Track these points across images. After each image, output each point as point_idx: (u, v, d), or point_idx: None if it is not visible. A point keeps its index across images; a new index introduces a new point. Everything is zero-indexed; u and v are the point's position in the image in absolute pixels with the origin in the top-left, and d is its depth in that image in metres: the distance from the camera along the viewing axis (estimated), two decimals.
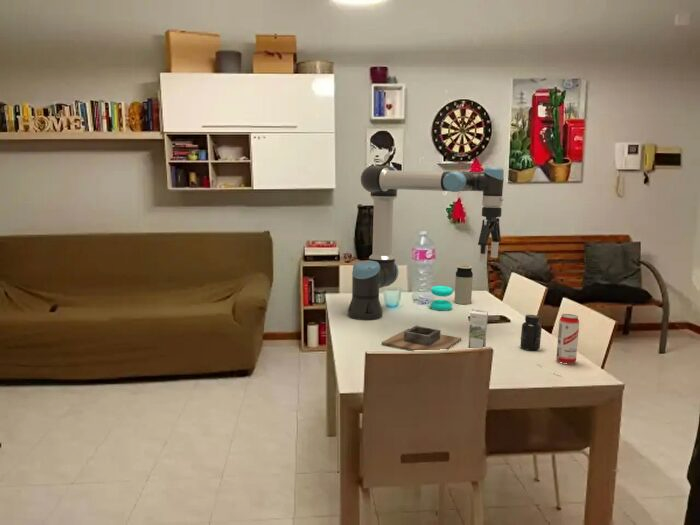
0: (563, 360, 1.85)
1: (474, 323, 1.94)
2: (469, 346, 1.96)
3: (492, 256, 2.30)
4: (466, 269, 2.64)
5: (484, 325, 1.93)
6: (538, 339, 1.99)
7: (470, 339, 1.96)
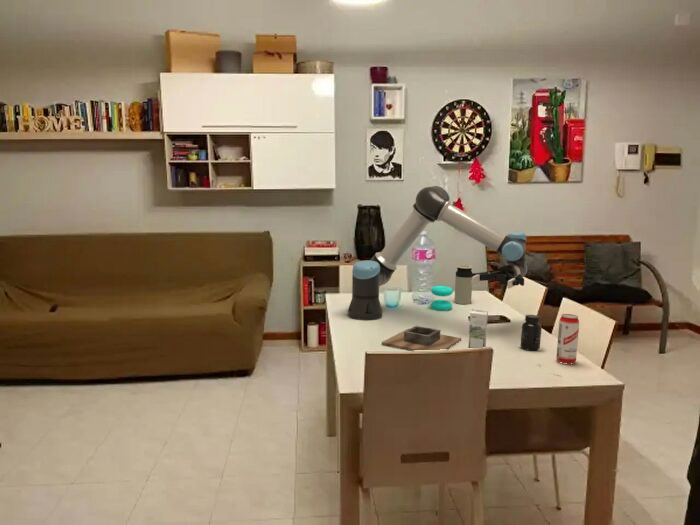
0: (563, 360, 1.85)
1: (474, 323, 1.94)
2: (469, 346, 1.96)
3: (474, 279, 2.08)
4: (466, 269, 2.64)
5: (484, 325, 1.93)
6: (538, 339, 1.99)
7: (470, 339, 1.96)
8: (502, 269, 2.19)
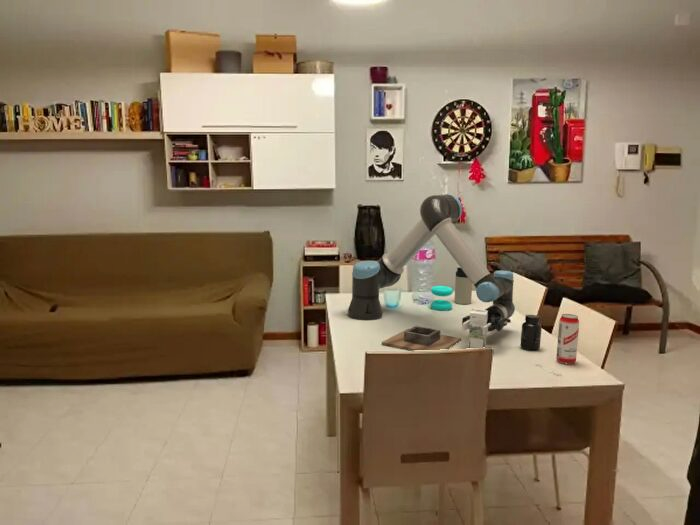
0: (563, 360, 1.85)
1: (474, 323, 1.94)
2: (469, 346, 1.96)
3: (464, 325, 1.95)
4: None
5: (484, 325, 1.93)
6: (538, 339, 1.99)
7: (470, 339, 1.96)
8: (488, 311, 2.09)
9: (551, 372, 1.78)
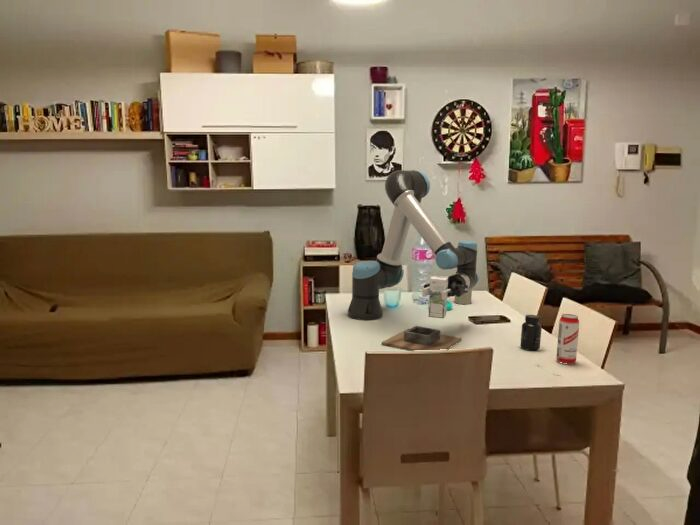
0: (563, 360, 1.85)
1: (434, 288, 1.98)
2: (429, 311, 2.00)
3: (425, 291, 1.98)
4: None
5: (443, 290, 1.97)
6: (538, 339, 1.99)
7: (430, 304, 1.99)
8: (450, 279, 2.12)
9: None
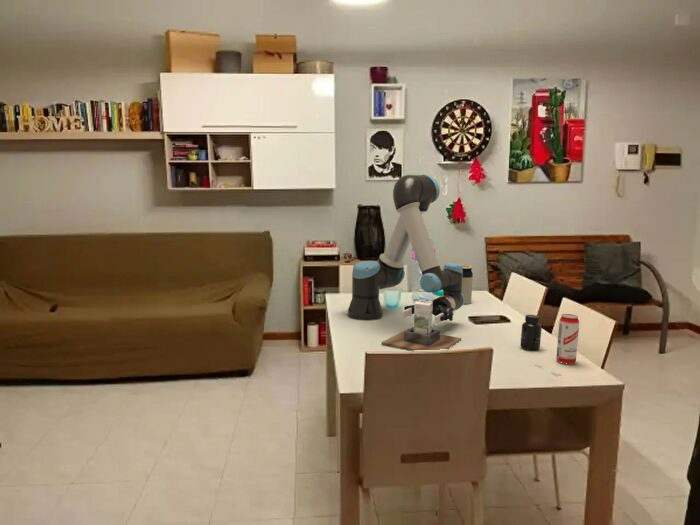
0: (563, 360, 1.85)
1: (418, 313, 2.02)
2: None
3: (404, 313, 2.05)
4: (466, 269, 2.64)
5: (427, 315, 2.01)
6: (538, 339, 1.99)
7: (415, 329, 2.04)
8: (436, 301, 2.17)
9: (551, 372, 1.77)
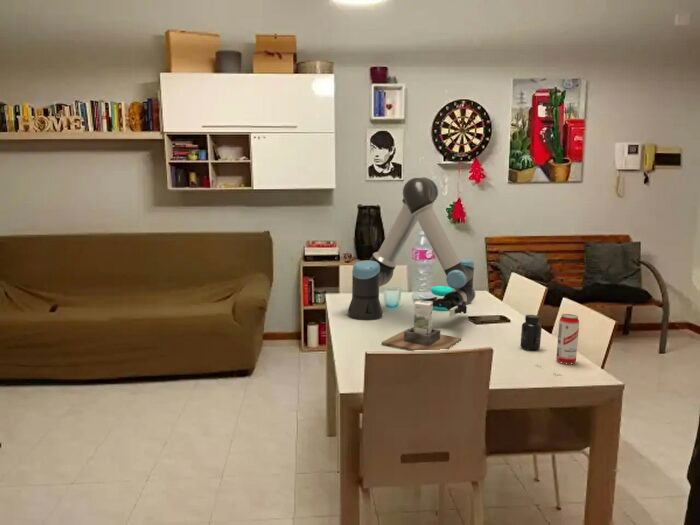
0: (563, 360, 1.85)
1: (418, 313, 2.02)
2: None
3: None
4: None
5: (427, 315, 2.01)
6: (538, 339, 1.99)
7: (415, 329, 2.04)
8: (448, 295, 2.27)
9: None
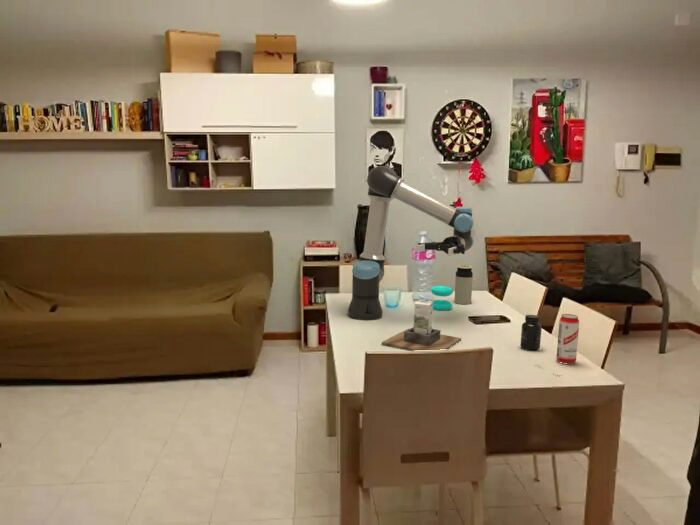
0: (563, 360, 1.85)
1: (418, 313, 2.02)
2: None
3: (418, 247, 2.22)
4: (466, 269, 2.64)
5: (427, 315, 2.01)
6: (538, 339, 1.99)
7: (415, 329, 2.04)
8: (447, 240, 2.33)
9: None
